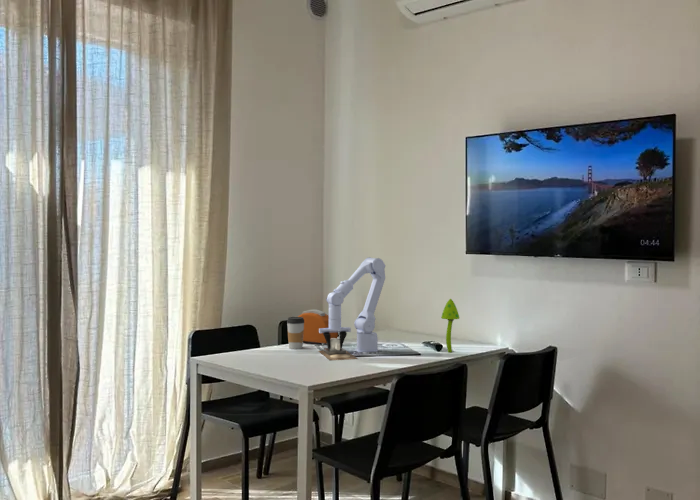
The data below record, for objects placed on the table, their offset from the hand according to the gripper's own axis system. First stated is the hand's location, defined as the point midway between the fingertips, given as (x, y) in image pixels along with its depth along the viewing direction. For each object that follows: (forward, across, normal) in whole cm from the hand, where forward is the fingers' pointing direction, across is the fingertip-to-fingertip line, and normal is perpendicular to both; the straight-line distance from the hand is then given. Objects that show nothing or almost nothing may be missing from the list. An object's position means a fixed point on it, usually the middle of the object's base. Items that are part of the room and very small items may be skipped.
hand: (334, 348), depth 319 cm
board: (+3, 0, +5) cm, 6 cm away
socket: (+2, 0, 0) cm, 2 cm away
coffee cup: (+3, +15, -17) cm, 23 cm away
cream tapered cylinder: (+2, 0, +1) cm, 3 cm away
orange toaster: (+3, +3, -32) cm, 32 cm away
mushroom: (+3, -53, +9) cm, 54 cm away
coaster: (+2, 0, +10) cm, 10 cm away
